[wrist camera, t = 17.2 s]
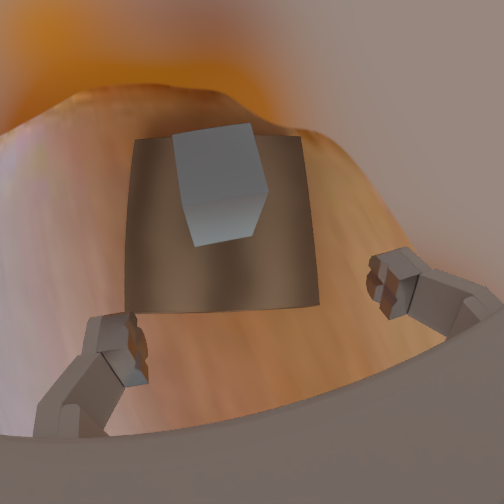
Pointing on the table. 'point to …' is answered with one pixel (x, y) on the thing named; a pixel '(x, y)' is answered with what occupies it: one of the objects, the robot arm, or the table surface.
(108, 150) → the table surface
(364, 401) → the robot arm
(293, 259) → the walnut plinth
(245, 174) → the slate block
